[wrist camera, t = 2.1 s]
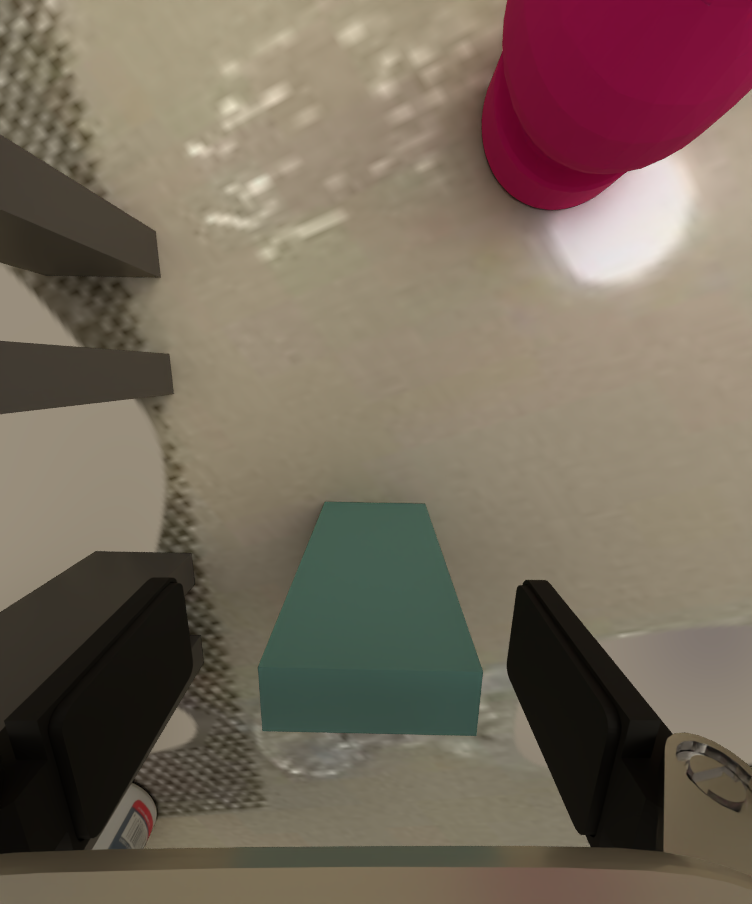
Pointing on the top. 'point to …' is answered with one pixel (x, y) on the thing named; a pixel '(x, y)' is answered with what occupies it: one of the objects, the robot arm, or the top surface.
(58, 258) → the domino
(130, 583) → the domino
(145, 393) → the domino
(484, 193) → the top surface
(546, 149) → the pepper mill
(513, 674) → the robot arm
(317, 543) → the domino
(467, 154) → the top surface
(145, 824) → the pill bottle
